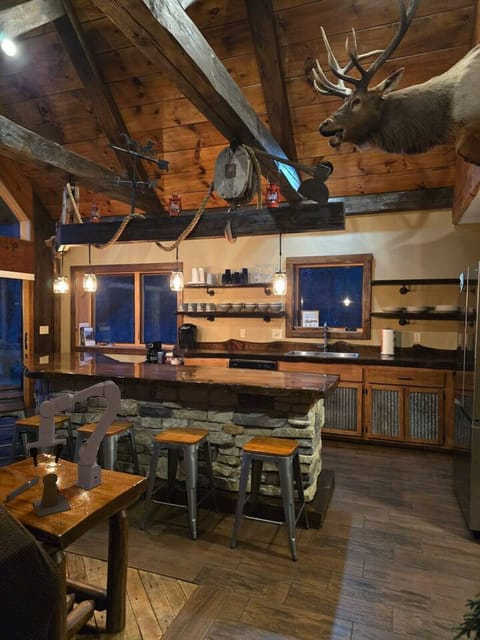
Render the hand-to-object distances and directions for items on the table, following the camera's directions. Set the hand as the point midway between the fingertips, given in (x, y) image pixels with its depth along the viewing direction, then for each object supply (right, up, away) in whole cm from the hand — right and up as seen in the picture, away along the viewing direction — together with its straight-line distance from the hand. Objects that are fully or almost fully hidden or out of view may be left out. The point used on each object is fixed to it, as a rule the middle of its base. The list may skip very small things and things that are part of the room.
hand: (46, 464), depth 165 cm
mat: (+8, -11, -13) cm, 19 cm away
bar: (-8, -10, -1) cm, 13 cm away
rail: (+3, -11, 0) cm, 11 cm away
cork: (+7, -11, -13) cm, 18 cm away
